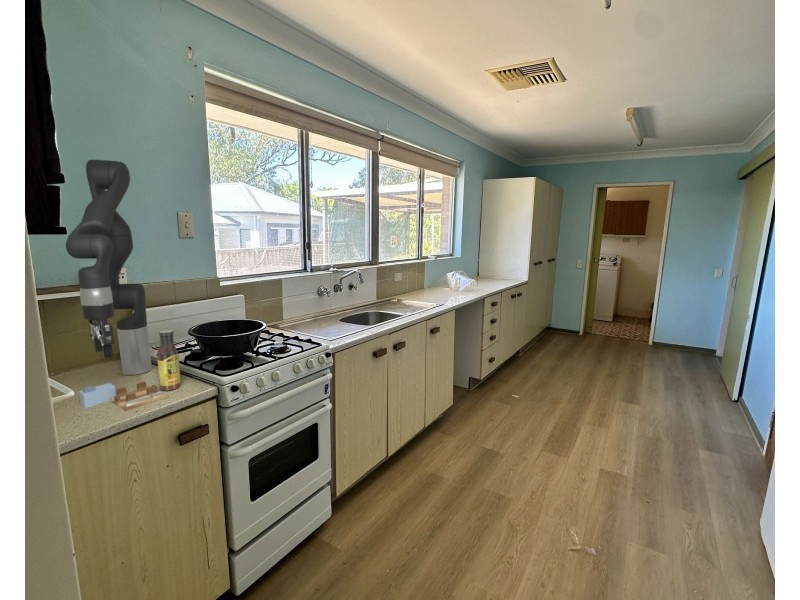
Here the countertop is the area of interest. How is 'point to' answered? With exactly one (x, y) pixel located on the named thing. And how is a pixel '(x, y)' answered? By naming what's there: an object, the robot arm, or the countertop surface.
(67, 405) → the countertop surface
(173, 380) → the sauce bottle
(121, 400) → the jig
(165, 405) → the countertop surface
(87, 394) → the light blue block
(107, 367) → the countertop surface
